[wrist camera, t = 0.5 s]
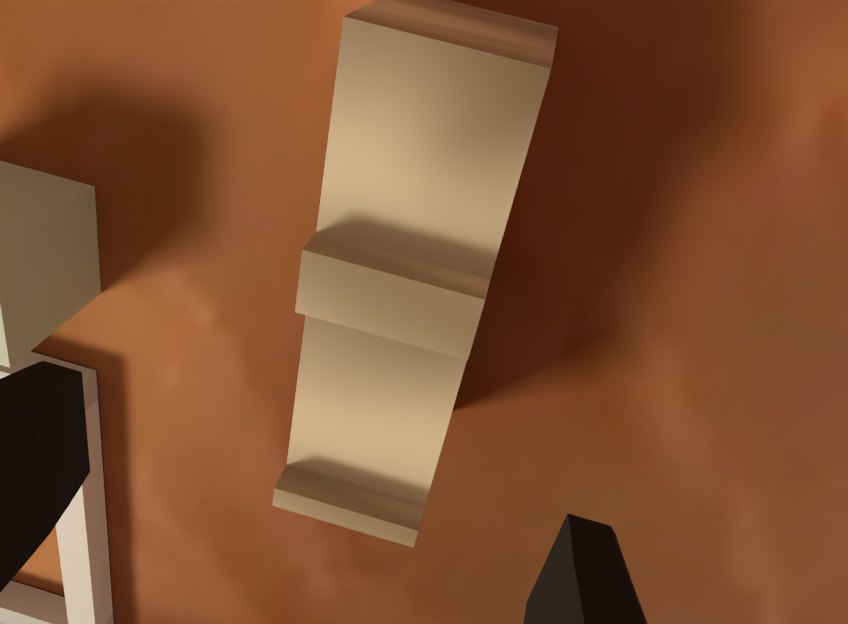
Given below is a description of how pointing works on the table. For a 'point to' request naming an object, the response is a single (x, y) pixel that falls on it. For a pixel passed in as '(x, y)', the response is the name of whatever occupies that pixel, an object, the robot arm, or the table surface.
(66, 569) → the jig
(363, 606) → the table surface
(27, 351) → the block
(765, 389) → the table surface
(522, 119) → the tan stepped block
